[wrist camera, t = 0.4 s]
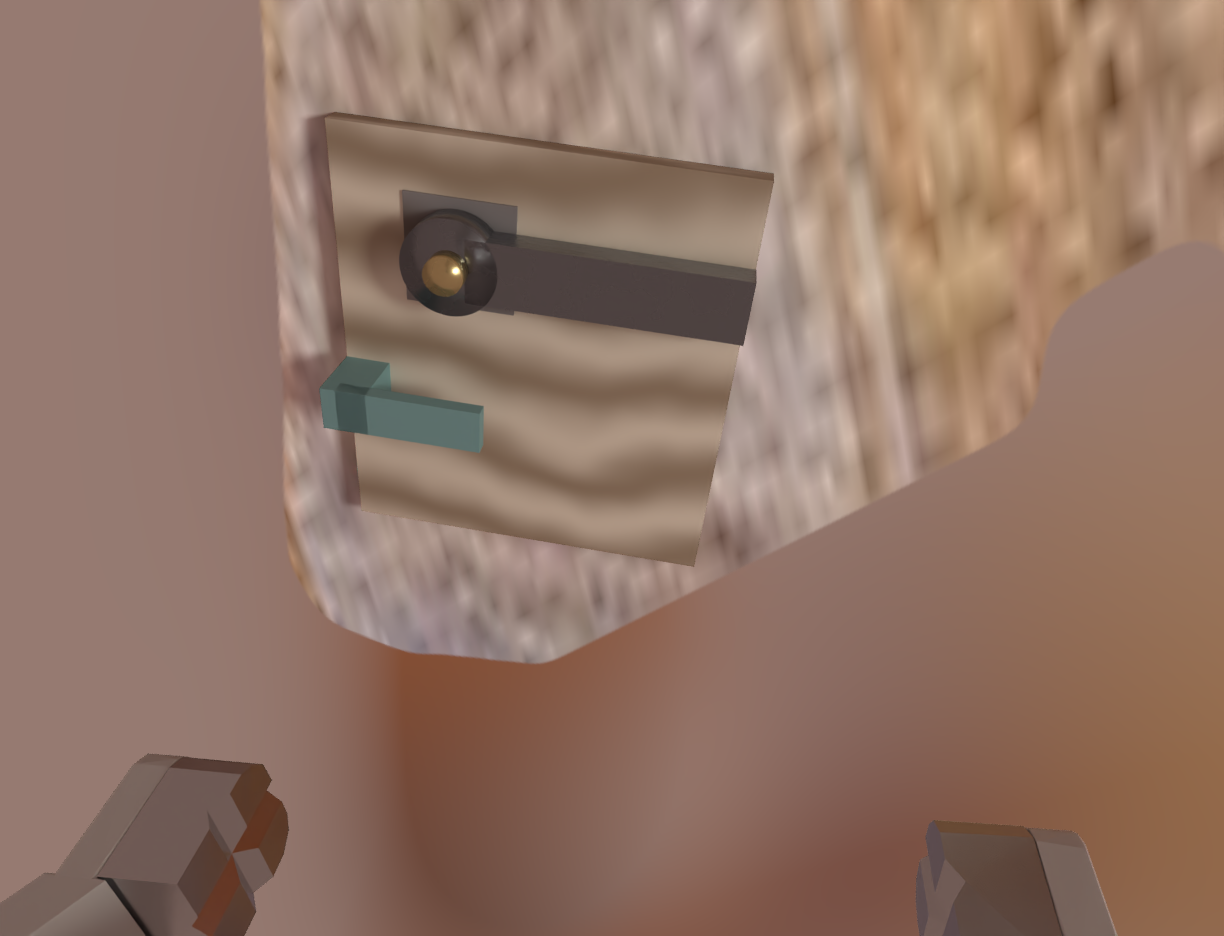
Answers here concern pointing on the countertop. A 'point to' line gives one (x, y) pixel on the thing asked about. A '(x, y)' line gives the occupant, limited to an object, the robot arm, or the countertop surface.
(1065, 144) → the countertop surface
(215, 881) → the robot arm
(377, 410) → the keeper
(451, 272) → the lever
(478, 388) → the board
